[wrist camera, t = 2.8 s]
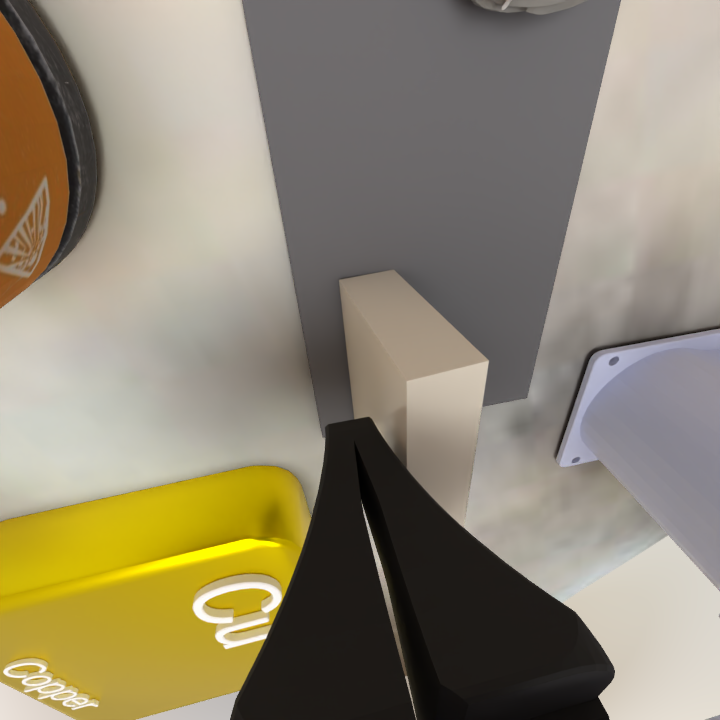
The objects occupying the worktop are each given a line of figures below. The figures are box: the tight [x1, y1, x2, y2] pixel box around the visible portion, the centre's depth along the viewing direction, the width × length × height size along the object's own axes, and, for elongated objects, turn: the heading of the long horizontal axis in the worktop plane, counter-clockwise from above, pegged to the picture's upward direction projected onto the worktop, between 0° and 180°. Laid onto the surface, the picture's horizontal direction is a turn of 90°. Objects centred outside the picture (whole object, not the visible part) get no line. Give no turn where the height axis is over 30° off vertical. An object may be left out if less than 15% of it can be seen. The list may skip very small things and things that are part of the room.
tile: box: [339, 270, 489, 528], centre depth 13 cm, size 2×7×6 cm, turn 4°
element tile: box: [0, 466, 311, 720], centre depth 20 cm, size 15×15×5 cm
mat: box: [242, 0, 621, 437], centre depth 13 cm, size 10×19×1 cm, turn 4°
